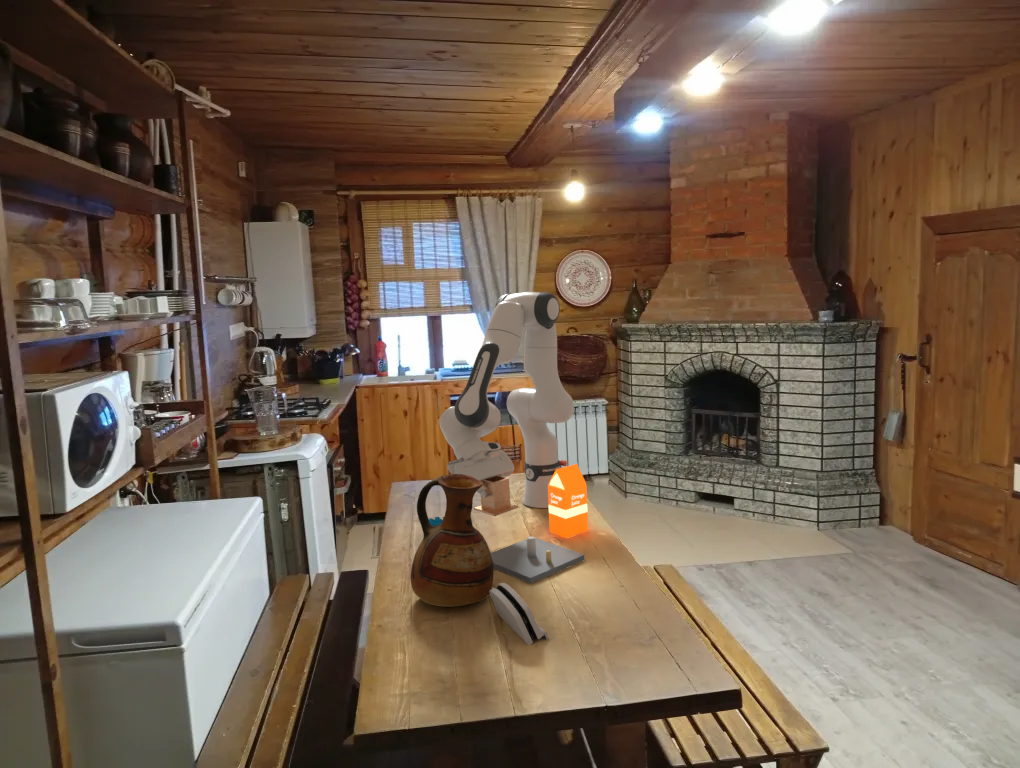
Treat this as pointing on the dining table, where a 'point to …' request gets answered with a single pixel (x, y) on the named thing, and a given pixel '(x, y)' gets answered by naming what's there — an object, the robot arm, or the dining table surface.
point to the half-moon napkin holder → (516, 613)
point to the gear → (435, 521)
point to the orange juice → (568, 502)
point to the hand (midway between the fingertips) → (496, 493)
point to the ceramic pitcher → (452, 548)
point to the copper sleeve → (496, 496)
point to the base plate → (534, 559)
